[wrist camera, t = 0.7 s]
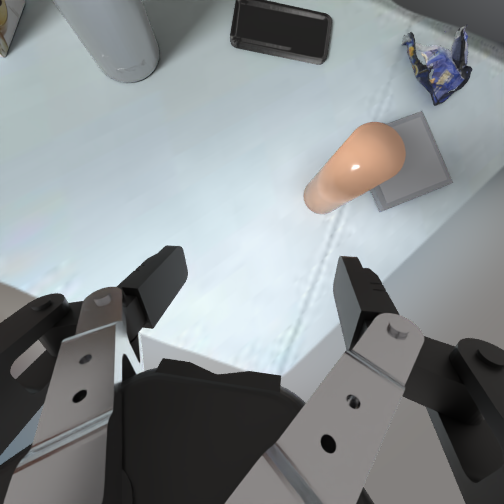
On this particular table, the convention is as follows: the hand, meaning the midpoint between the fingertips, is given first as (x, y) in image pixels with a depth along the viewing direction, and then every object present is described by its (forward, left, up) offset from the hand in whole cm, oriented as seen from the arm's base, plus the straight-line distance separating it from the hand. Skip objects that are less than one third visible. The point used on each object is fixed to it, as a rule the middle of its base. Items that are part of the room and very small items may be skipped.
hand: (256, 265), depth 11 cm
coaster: (-6, +28, -20) cm, 35 cm away
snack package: (-18, +39, -21) cm, 48 cm away
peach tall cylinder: (-5, +15, -20) cm, 25 cm away
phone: (-31, +19, -21) cm, 42 cm away
